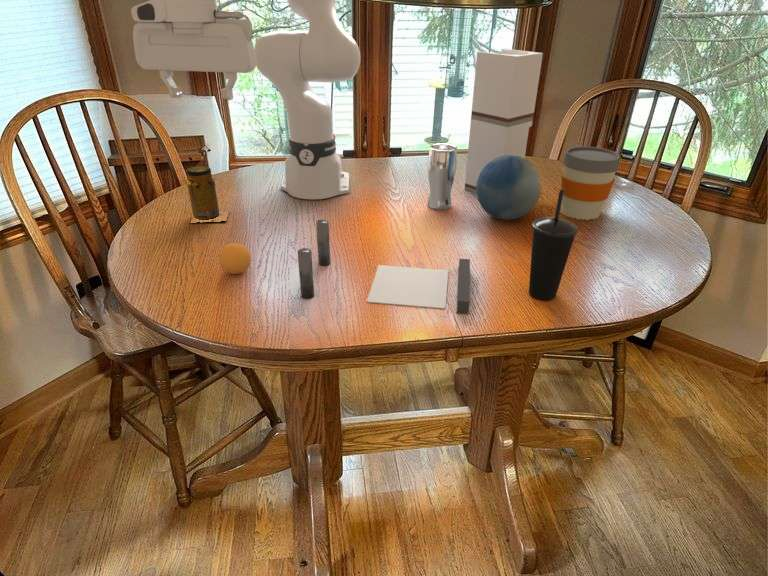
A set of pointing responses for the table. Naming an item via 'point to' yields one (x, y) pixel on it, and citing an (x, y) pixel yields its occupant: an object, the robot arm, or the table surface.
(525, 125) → the tall brown-banded box
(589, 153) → the reusable coffee cup
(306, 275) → the post
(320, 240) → the post
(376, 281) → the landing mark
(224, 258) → the ball
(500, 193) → the decorative ball
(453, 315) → the table surface
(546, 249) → the drinking cup
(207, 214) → the condiment
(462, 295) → the wall
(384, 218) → the table surface
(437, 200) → the silver metal cylinder
